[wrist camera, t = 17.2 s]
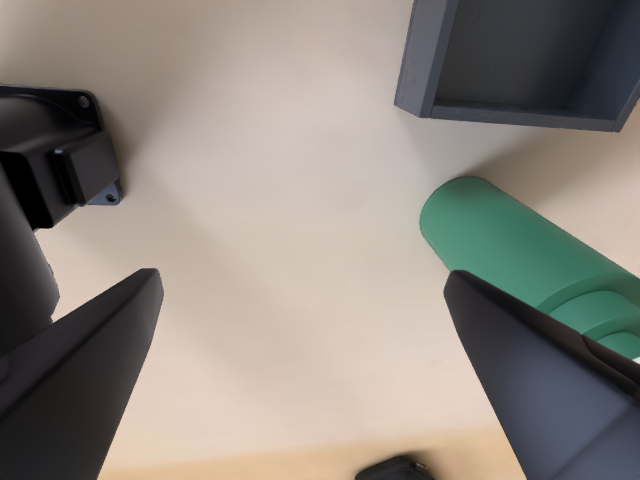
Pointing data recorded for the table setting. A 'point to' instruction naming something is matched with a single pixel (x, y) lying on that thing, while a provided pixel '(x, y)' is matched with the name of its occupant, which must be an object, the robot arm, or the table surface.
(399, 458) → the carrying case
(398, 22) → the table surface
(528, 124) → the tray
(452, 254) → the bottle
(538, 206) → the table surface
